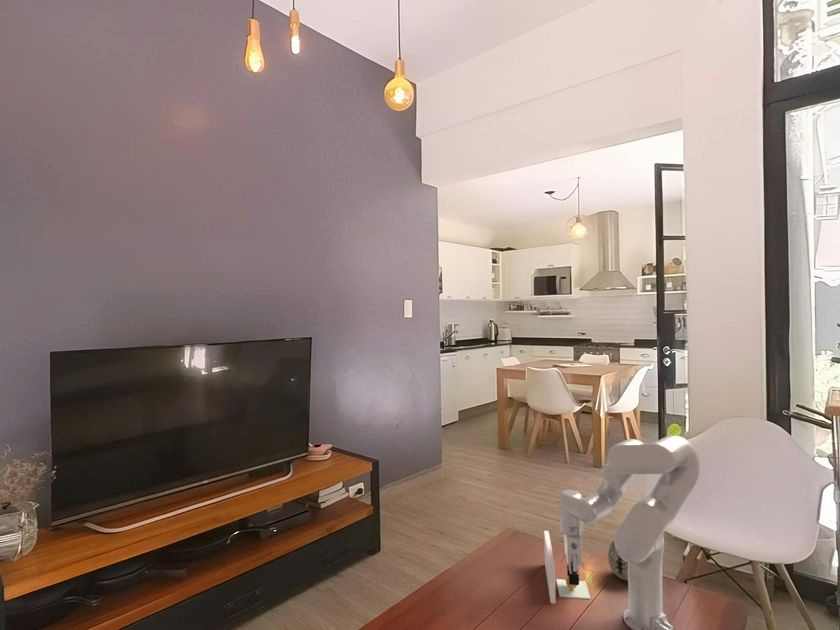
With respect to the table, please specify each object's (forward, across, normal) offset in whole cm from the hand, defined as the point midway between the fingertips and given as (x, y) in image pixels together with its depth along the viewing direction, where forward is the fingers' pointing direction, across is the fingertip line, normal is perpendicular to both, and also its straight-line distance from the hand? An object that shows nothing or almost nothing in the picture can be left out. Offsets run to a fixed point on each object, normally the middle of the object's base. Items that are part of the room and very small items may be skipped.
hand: (573, 580), depth 164 cm
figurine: (+3, +1, 0) cm, 3 cm away
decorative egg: (+4, +10, -19) cm, 22 cm away
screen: (+3, +3, +8) cm, 9 cm away
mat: (+3, 0, 0) cm, 3 cm away
